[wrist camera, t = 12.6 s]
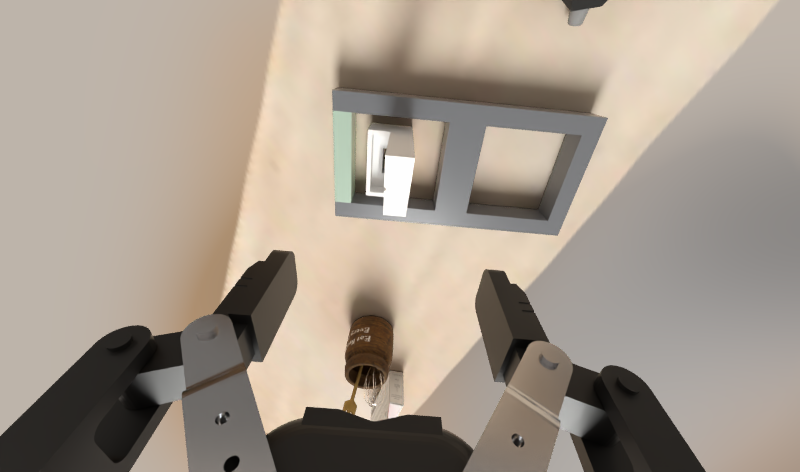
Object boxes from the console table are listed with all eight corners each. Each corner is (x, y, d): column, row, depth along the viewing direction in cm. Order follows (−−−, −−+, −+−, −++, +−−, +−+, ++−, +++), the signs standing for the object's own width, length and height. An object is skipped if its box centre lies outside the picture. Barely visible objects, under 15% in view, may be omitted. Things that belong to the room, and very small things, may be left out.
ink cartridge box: (404, 371, 45) (403, 443, 37) (384, 409, 50) (380, 479, 42) (388, 368, 45) (384, 439, 36) (370, 407, 50) (363, 476, 42)
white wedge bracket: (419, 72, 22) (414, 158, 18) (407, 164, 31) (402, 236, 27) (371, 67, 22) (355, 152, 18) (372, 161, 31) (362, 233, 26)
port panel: (338, 87, 25) (332, 90, 23) (590, 113, 26) (607, 118, 23) (340, 204, 31) (335, 215, 28) (547, 223, 31) (557, 235, 29)
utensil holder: (402, 327, 40) (401, 421, 30) (374, 350, 42) (364, 443, 32) (368, 306, 38) (353, 398, 28) (340, 332, 40) (318, 424, 30)
